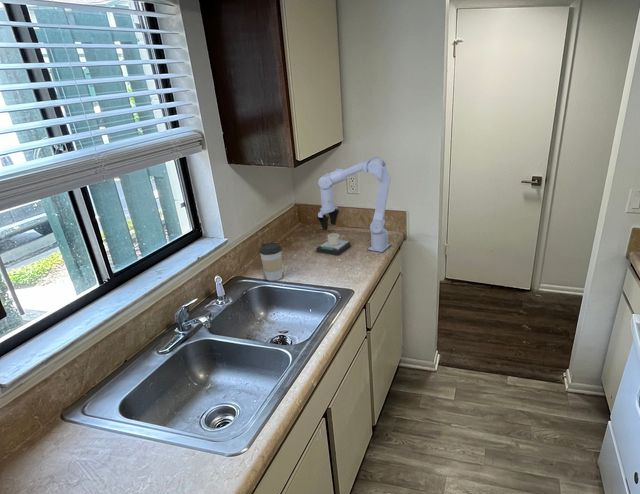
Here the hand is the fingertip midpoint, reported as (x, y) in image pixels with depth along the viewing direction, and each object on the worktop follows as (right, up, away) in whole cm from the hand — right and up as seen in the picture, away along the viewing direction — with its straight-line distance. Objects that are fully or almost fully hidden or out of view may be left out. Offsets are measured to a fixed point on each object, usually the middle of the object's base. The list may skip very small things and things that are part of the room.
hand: (329, 226), depth 213 cm
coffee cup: (-19, -23, -26) cm, 40 cm away
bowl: (+2, -8, +1) cm, 8 cm away
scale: (+2, -11, +1) cm, 11 cm away
